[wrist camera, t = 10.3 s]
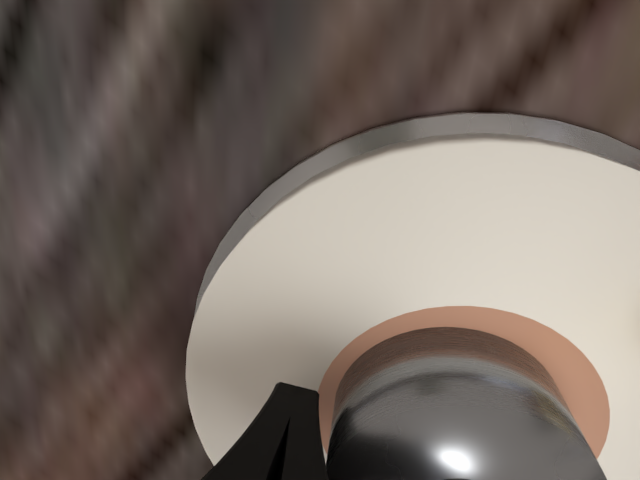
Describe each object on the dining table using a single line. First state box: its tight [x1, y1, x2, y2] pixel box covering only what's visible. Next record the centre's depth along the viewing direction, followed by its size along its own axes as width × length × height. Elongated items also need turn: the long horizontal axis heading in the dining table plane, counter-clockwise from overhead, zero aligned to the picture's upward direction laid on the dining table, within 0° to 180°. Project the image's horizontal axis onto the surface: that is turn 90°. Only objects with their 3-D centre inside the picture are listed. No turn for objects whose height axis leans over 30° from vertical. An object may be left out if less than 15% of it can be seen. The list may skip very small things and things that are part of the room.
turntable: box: [186, 133, 640, 480], centre depth 12 cm, size 18×18×6 cm
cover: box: [326, 327, 607, 480], centre depth 12 cm, size 7×7×3 cm
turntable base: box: [194, 112, 640, 317], centre depth 15 cm, size 19×19×1 cm
